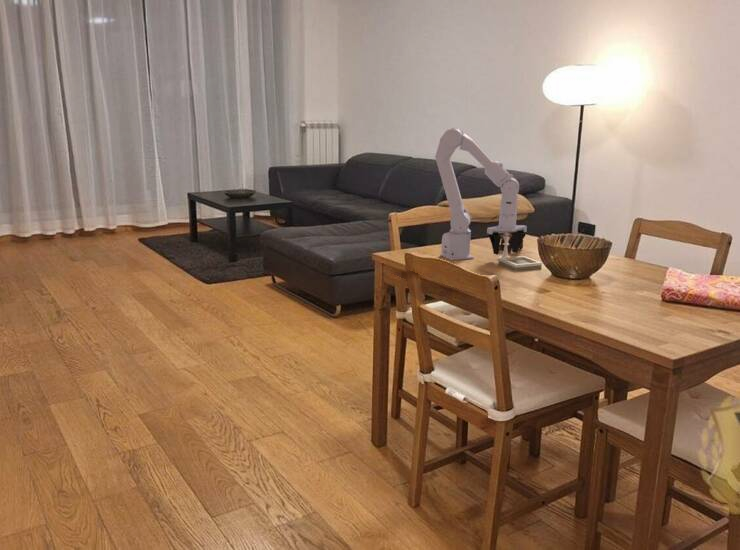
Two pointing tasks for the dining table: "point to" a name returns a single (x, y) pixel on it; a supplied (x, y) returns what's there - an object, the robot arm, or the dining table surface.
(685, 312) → the dining table surface
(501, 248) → the pottery mug
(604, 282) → the dining table surface
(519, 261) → the picture frame
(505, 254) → the chess piece
